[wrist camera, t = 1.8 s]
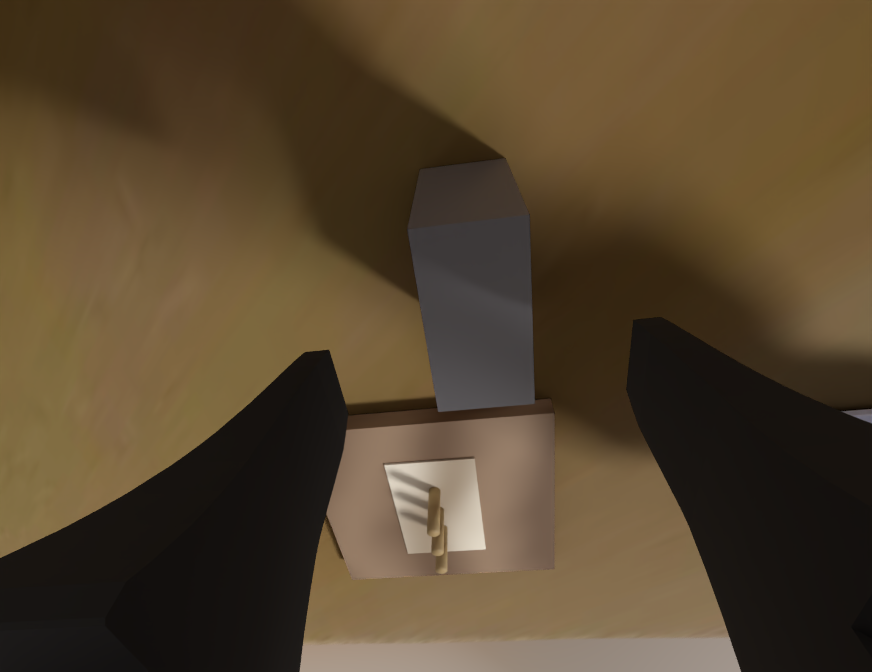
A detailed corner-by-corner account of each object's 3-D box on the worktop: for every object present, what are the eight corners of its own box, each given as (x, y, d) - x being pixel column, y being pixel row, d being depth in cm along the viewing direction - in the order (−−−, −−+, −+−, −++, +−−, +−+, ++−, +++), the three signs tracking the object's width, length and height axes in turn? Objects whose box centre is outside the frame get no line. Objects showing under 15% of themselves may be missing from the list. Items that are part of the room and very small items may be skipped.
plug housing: (505, 158, 17) (529, 214, 12) (513, 308, 20) (534, 403, 15) (419, 169, 17) (407, 228, 12) (441, 315, 20) (438, 411, 15)
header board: (550, 398, 22) (565, 454, 19) (551, 553, 29) (563, 613, 26) (301, 419, 24) (279, 475, 21) (355, 564, 30) (344, 622, 27)
